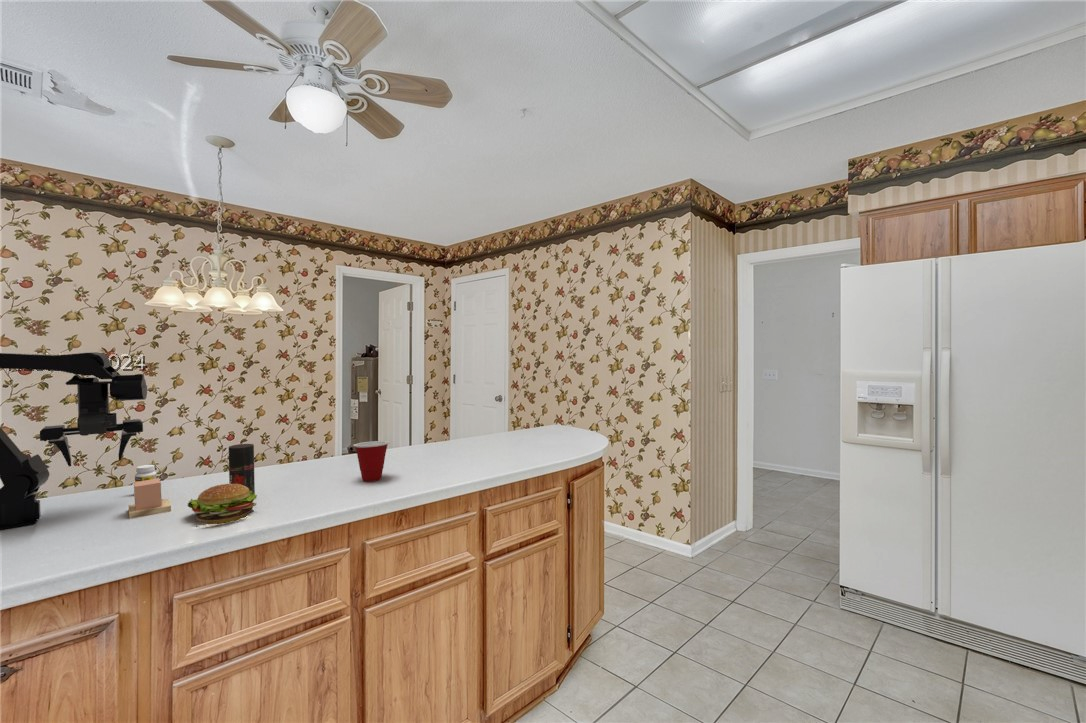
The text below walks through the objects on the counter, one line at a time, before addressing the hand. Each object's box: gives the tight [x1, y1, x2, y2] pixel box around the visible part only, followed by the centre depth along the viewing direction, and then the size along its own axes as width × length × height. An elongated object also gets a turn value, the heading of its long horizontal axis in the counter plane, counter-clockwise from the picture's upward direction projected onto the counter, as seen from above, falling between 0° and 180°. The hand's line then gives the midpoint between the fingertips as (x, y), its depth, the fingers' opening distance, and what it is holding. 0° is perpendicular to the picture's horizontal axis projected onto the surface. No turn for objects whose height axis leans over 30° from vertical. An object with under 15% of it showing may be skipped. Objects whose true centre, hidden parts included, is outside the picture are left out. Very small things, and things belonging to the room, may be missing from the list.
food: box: [187, 483, 258, 525], centre depth 120 cm, size 14×14×8 cm
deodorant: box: [228, 443, 256, 495], centre depth 133 cm, size 6×6×15 cm
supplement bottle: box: [134, 464, 158, 482], centre depth 136 cm, size 5×5×8 cm
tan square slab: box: [128, 498, 172, 520], centre depth 122 cm, size 8×8×2 cm
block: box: [133, 477, 163, 511], centre depth 121 cm, size 5×5×6 cm
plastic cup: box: [353, 440, 390, 483], centre depth 153 cm, size 11×11×12 cm
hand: (95, 463), depth 121 cm, fingers open, 9 cm apart
